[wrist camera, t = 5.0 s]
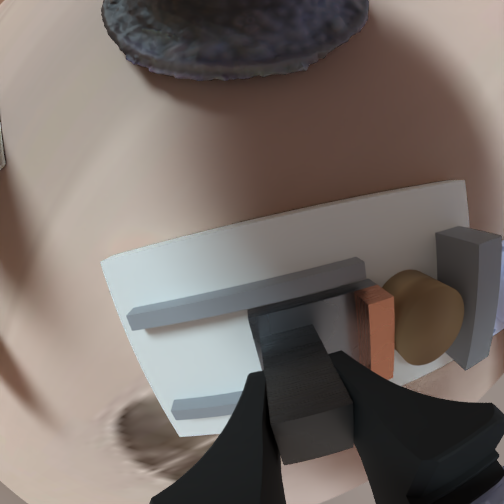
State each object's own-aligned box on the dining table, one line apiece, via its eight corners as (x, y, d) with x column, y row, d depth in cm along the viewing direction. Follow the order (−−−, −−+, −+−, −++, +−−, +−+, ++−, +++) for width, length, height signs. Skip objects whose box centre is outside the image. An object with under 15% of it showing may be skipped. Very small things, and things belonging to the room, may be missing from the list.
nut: (431, 261, 13) (466, 276, 10) (430, 324, 14) (459, 347, 11) (370, 280, 13) (399, 302, 10) (373, 347, 14) (398, 377, 11)
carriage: (368, 278, 13) (449, 338, 6) (372, 351, 14) (430, 427, 7) (247, 309, 13) (252, 403, 6) (266, 381, 14) (279, 479, 7)
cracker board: (449, 179, 13) (507, 181, 8) (450, 346, 16) (489, 380, 11) (112, 255, 14) (61, 283, 9) (183, 421, 16) (170, 476, 11)
